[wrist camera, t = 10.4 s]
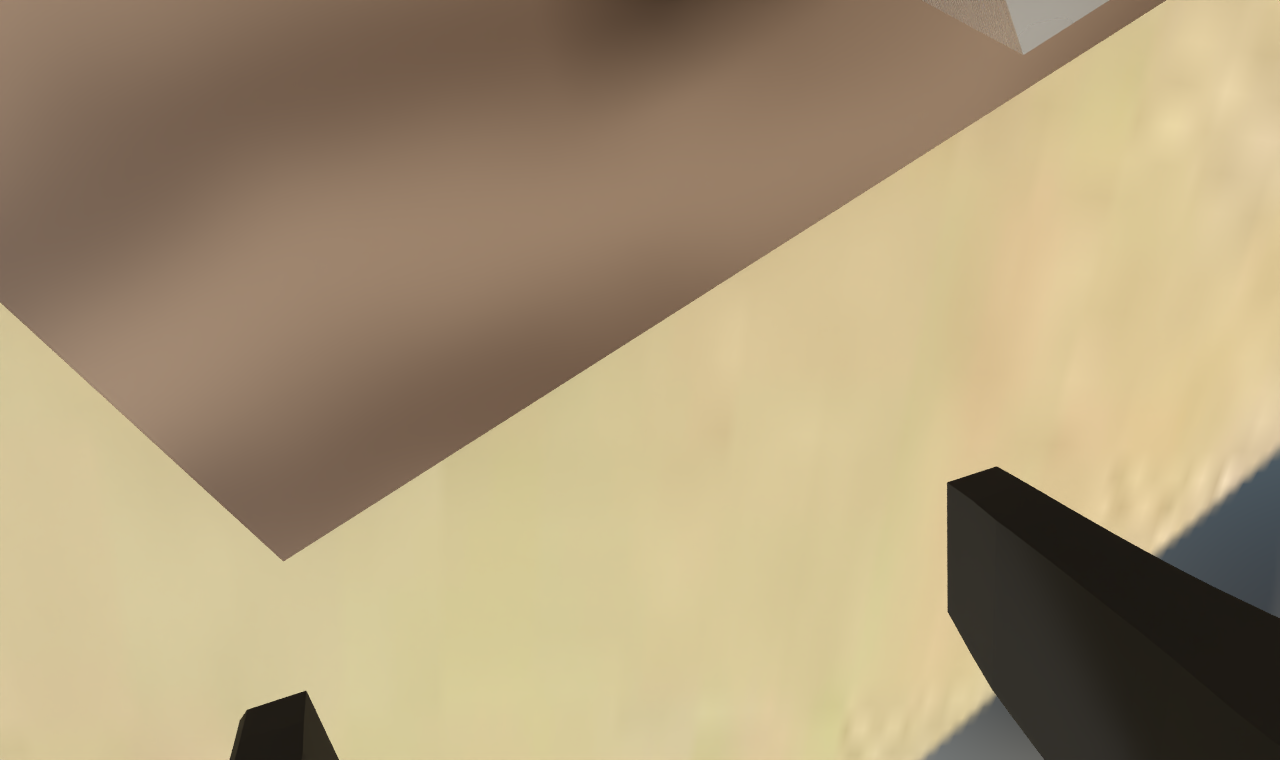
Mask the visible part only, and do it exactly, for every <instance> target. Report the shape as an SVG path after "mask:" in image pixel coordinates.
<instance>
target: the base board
mask: <svg viewBox="0 0 1280 760" xmlns="http://www.w3.org/2000/svg"><path fill="white" fill-rule="evenodd" d="M1164 1H1166V0H1109V1H1107V2H1106V3H1104V4H1103V5H1101V6H1099V7H1098V8H1096V9H1095V10H1093V11H1092V12H1090V13H1088V14H1087V15H1085V16H1084V17H1082V18H1081V19H1079V20H1078V21H1076V22H1074V23H1073V24H1071V25H1070V26H1068V27H1067V28H1065V29H1063V30H1062V31H1060V32H1059V33H1057V34H1056V35H1054V36H1052V37H1051V38H1049V39H1048V40H1046V41H1045V42H1043V43H1042V44H1040V45H1038V46H1037V47H1035V48H1034V49H1032V50H1031V51H1029V52H1027V53H1026V54H1024V55H1022V54H1021V53H1019V52H1017V51H1015V50H1013V49H1011V48H1009V47H1008V46H1006V45H1004V44H1002V43H1000V42H998V41H996V40H995V39H993V38H991V37H989V36H987V35H985V34H983V33H982V32H980V31H978V30H976V29H974V28H972V27H970V26H969V25H967V24H965V23H963V22H961V21H959V20H957V19H956V18H954V17H952V16H950V15H948V14H946V13H944V12H943V11H941V10H939V9H937V8H935V7H933V6H931V5H930V4H928V3H926V2H924V1H922V0H0V303H2V304H3V305H4V306H5V307H6V308H7V309H8V310H9V311H10V312H11V313H13V314H14V315H15V316H16V317H17V318H18V319H19V320H20V321H21V322H22V323H23V324H25V325H26V326H27V327H28V328H29V329H30V330H31V331H32V332H33V333H34V334H35V335H37V336H38V337H39V338H40V339H41V340H42V341H43V342H44V343H45V344H46V345H47V346H49V347H50V348H51V349H52V350H53V351H54V352H55V353H56V354H57V355H58V356H60V357H61V358H62V359H63V360H64V361H65V362H66V363H67V364H68V365H69V366H70V367H72V368H73V369H74V370H75V371H76V372H77V373H78V374H79V375H80V376H81V377H82V378H84V379H85V380H86V381H87V382H88V383H89V384H90V385H91V386H92V387H93V388H94V389H96V390H97V391H98V392H99V393H100V394H101V395H102V396H103V397H104V398H105V399H107V400H108V401H109V402H110V403H111V404H112V405H113V406H114V407H115V408H116V409H117V410H119V411H120V412H121V413H122V414H123V415H124V416H125V417H126V418H127V419H128V420H129V421H131V422H132V423H133V424H134V425H135V426H136V427H137V428H138V429H139V430H140V431H141V432H143V433H144V434H145V435H146V436H147V437H148V438H149V439H150V440H151V441H152V442H154V443H155V444H156V445H157V446H158V447H159V448H160V449H161V450H162V451H163V452H164V453H166V454H167V455H168V456H169V457H170V458H171V459H172V460H173V461H174V462H175V463H176V464H178V465H179V466H180V467H181V468H182V469H183V470H184V471H185V472H186V473H187V474H188V475H190V476H191V477H192V478H193V479H194V480H195V481H196V482H197V483H198V484H199V485H201V486H202V487H203V488H204V489H205V490H206V491H207V492H208V493H209V494H210V495H211V496H213V497H214V498H215V499H216V500H217V501H218V502H219V503H220V504H221V505H222V506H223V507H225V508H226V509H227V510H228V511H229V512H230V513H231V514H232V515H233V516H234V517H235V518H237V519H238V520H239V521H240V522H241V523H242V524H243V525H244V526H245V527H246V528H248V529H249V530H250V531H251V532H252V533H253V534H254V535H255V536H256V537H257V538H258V539H260V540H261V541H262V542H263V543H264V544H265V545H266V546H267V547H268V548H269V549H270V550H272V551H273V552H274V553H275V554H276V555H277V556H278V557H279V558H280V559H281V560H282V561H285V560H286V559H288V558H290V557H291V556H293V555H294V554H296V553H297V552H299V551H301V550H302V549H304V548H305V547H307V546H308V545H310V544H312V543H313V542H315V541H316V540H318V539H319V538H321V537H323V536H324V535H326V534H327V533H329V532H330V531H332V530H334V529H335V528H337V527H338V526H340V525H341V524H343V523H345V522H346V521H348V520H349V519H351V518H352V517H354V516H356V515H357V514H359V513H360V512H362V511H363V510H365V509H367V508H368V507H370V506H371V505H373V504H374V503H376V502H378V501H379V500H381V499H382V498H384V497H385V496H387V495H389V494H390V493H392V492H393V491H395V490H396V489H398V488H400V487H401V486H403V485H404V484H406V483H407V482H409V481H411V480H412V479H414V478H415V477H417V476H419V475H420V474H422V473H423V472H425V471H426V470H428V469H430V468H431V467H433V466H434V465H436V464H437V463H439V462H441V461H442V460H444V459H445V458H447V457H448V456H450V455H452V454H453V453H455V452H456V451H458V450H459V449H461V448H463V447H464V446H466V445H467V444H469V443H470V442H472V441H474V440H475V439H477V438H478V437H480V436H481V435H483V434H485V433H486V432H488V431H489V430H491V429H492V428H494V427H496V426H497V425H499V424H500V423H502V422H503V421H505V420H507V419H508V418H510V417H511V416H513V415H514V414H516V413H518V412H519V411H521V410H522V409H524V408H525V407H527V406H529V405H530V404H532V403H533V402H535V401H536V400H538V399H540V398H541V397H543V396H544V395H546V394H547V393H549V392H551V391H552V390H554V389H555V388H557V387H559V386H560V385H562V384H563V383H565V382H566V381H568V380H570V379H571V378H573V377H574V376H576V375H577V374H579V373H581V372H582V371H584V370H585V369H587V368H588V367H590V366H592V365H593V364H595V363H596V362H598V361H599V360H601V359H603V358H604V357H606V356H607V355H609V354H610V353H612V352H614V351H615V350H617V349H618V348H620V347H621V346H623V345H625V344H626V343H628V342H629V341H631V340H632V339H634V338H636V337H637V336H639V335H640V334H642V333H643V332H645V331H647V330H648V329H650V328H651V327H653V326H654V325H656V324H658V323H659V322H661V321H662V320H664V319H665V318H667V317H669V316H670V315H672V314H673V313H675V312H676V311H678V310H680V309H681V308H683V307H684V306H686V305H688V304H689V303H691V302H692V301H694V300H695V299H697V298H699V297H700V296H702V295H703V294H705V293H706V292H708V291H710V290H711V289H713V288H714V287H716V286H717V285H719V284H721V283H722V282H724V281H725V280H727V279H728V278H730V277H732V276H733V275H735V274H736V273H738V272H739V271H741V270H743V269H744V268H746V267H747V266H749V265H750V264H752V263H754V262H755V261H757V260H758V259H760V258H761V257H763V256H765V255H766V254H768V253H769V252H771V251H772V250H774V249H776V248H777V247H779V246H780V245H782V244H783V243H785V242H787V241H788V240H790V239H791V238H793V237H794V236H796V235H798V234H799V233H801V232H802V231H804V230H805V229H807V228H809V227H810V226H812V225H813V224H815V223H816V222H818V221H820V220H821V219H823V218H824V217H826V216H828V215H829V214H831V213H832V212H834V211H835V210H837V209H839V208H840V207H842V206H843V205H845V204H846V203H848V202H850V201H851V200H853V199H854V198H856V197H857V196H859V195H861V194H862V193H864V192H865V191H867V190H868V189H870V188H872V187H873V186H875V185H876V184H878V183H879V182H881V181H883V180H884V179H886V178H887V177H889V176H890V175H892V174H894V173H895V172H897V171H898V170H900V169H901V168H903V167H905V166H906V165H908V164H909V163H911V162H912V161H914V160H916V159H917V158H919V157H920V156H922V155H923V154H925V153H927V152H928V151H930V150H931V149H933V148H934V147H936V146H938V145H939V144H941V143H942V142H944V141H945V140H947V139H949V138H950V137H952V136H953V135H955V134H956V133H958V132H960V131H961V130H963V129H964V128H966V127H968V126H969V125H971V124H972V123H974V122H975V121H977V120H979V119H980V118H982V117H983V116H985V115H986V114H988V113H990V112H991V111H993V110H994V109H996V108H997V107H999V106H1001V105H1002V104H1004V103H1005V102H1007V101H1008V100H1010V99H1012V98H1013V97H1015V96H1016V95H1018V94H1019V93H1021V92H1023V91H1024V90H1026V89H1027V88H1029V87H1030V86H1032V85H1034V84H1035V83H1037V82H1038V81H1040V80H1041V79H1043V78H1045V77H1046V76H1048V75H1049V74H1051V73H1052V72H1054V71H1056V70H1057V69H1059V68H1060V67H1062V66H1063V65H1065V64H1067V63H1068V62H1070V61H1071V60H1073V59H1074V58H1076V57H1078V56H1079V55H1081V54H1082V53H1084V52H1085V51H1087V50H1089V49H1090V48H1092V47H1093V46H1095V45H1096V44H1098V43H1100V42H1101V41H1103V40H1104V39H1106V38H1108V37H1109V36H1111V35H1112V34H1114V33H1115V32H1117V31H1119V30H1120V29H1122V28H1123V27H1125V26H1126V25H1128V24H1130V23H1131V22H1133V21H1134V20H1136V19H1137V18H1139V17H1141V16H1142V15H1144V14H1145V13H1147V12H1148V11H1150V10H1152V9H1153V8H1155V7H1156V6H1158V5H1159V4H1161V3H1163V2H1164Z"/></svg>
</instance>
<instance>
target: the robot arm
mask: <svg viewBox="0 0 1280 760" xmlns="http://www.w3.org/2000/svg"><path fill="white" fill-rule="evenodd" d="M947 570H948V613H949V615H950V617H951V618H952V620H953V622H954V624H955V626H956V627H957V629H958V631H959V633H960V635H961V636H962V638H963V640H964V642H965V644H966V645H967V647H968V649H969V651H970V653H971V654H972V656H973V658H974V660H975V661H976V663H977V665H978V666H979V668H980V670H981V671H982V673H983V675H984V676H985V678H986V680H987V682H988V683H989V685H990V687H991V688H992V690H993V691H994V693H995V694H996V695H997V697H998V698H999V699H1000V701H1001V702H1002V703H1003V705H1004V706H1005V708H1006V709H1007V710H1008V712H1009V713H1010V714H1011V715H1012V717H1013V718H1014V720H1015V721H1016V722H1017V724H1018V725H1019V726H1020V728H1021V729H1022V730H1023V732H1024V733H1025V734H1026V736H1027V737H1028V738H1029V740H1030V741H1031V743H1032V744H1033V745H1034V746H1035V748H1036V749H1037V751H1038V752H1039V753H1040V754H1041V756H1042V757H1043V758H1044V760H1280V618H1278V617H1276V616H1273V615H1271V614H1269V613H1267V612H1265V611H1263V610H1261V609H1259V608H1257V607H1254V606H1252V605H1250V604H1248V603H1246V602H1244V601H1242V600H1240V599H1238V598H1236V597H1233V596H1231V595H1229V594H1227V593H1225V592H1223V591H1221V590H1219V589H1217V588H1215V587H1213V586H1211V585H1209V584H1207V583H1205V582H1203V581H1201V580H1199V579H1197V578H1195V577H1193V576H1191V575H1189V574H1187V573H1185V572H1183V571H1181V570H1179V569H1178V568H1176V567H1174V566H1172V565H1170V564H1168V563H1166V562H1164V561H1163V560H1161V559H1159V558H1157V557H1155V556H1153V555H1152V554H1150V553H1148V552H1146V551H1144V550H1142V549H1140V548H1139V547H1137V546H1135V545H1133V544H1131V543H1130V542H1128V541H1126V540H1124V539H1122V538H1121V537H1119V536H1117V535H1115V534H1113V533H1112V532H1110V531H1108V530H1106V529H1105V528H1103V527H1101V526H1099V525H1098V524H1096V523H1094V522H1092V521H1091V520H1089V519H1087V518H1085V517H1084V516H1082V515H1080V514H1078V513H1077V512H1075V511H1073V510H1071V509H1070V508H1068V507H1066V506H1065V505H1063V504H1061V503H1059V502H1058V501H1056V500H1054V499H1053V498H1051V497H1049V496H1047V495H1046V494H1044V493H1042V492H1041V491H1039V490H1037V489H1035V488H1034V487H1032V486H1030V485H1029V484H1027V483H1025V482H1023V481H1022V480H1020V479H1018V478H1016V477H1015V476H1013V475H1011V474H1009V473H1008V472H1006V471H1004V470H1002V469H1001V468H999V467H993V468H990V469H987V470H984V471H981V472H978V473H975V474H972V475H969V476H966V477H963V478H960V479H957V480H953V481H950V482H947ZM230 760H339V759H338V757H337V755H336V753H335V750H334V748H333V746H332V744H331V742H330V740H329V738H328V736H327V734H326V731H325V729H324V727H323V725H322V723H321V721H320V719H319V717H318V714H317V712H316V710H315V708H314V706H313V704H312V702H311V700H310V697H309V695H308V693H307V691H304V692H301V693H298V694H294V695H291V696H288V697H285V698H282V699H279V700H276V701H273V702H270V703H267V704H264V705H261V706H258V707H254V708H251V709H248V710H247V711H246V712H245V714H244V715H243V717H242V718H241V720H240V722H239V726H238V730H237V734H236V738H235V742H234V746H233V749H232V753H231V757H230Z"/></svg>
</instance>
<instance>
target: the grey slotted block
mask: <svg viewBox="0 0 1280 760" xmlns="http://www.w3.org/2000/svg"><path fill="white" fill-rule="evenodd" d="M922 1H924V2H926V3H928V4H930V5H931V6H933V7H935V8H937V9H939V10H941V11H943V12H944V13H946V14H948V15H950V16H952V17H954V18H956V19H957V20H959V21H961V22H963V23H965V24H967V25H969V26H970V27H972V28H974V29H976V30H978V31H980V32H982V33H983V34H985V35H987V36H989V37H991V38H993V39H995V40H996V41H998V42H1000V43H1002V44H1004V45H1006V46H1008V47H1009V48H1011V49H1013V50H1015V51H1017V52H1019V53H1021V54H1022V55H1024V54H1026V53H1027V52H1029V51H1031V50H1032V49H1034V48H1035V47H1037V46H1038V45H1040V44H1042V43H1043V42H1045V41H1046V40H1048V39H1049V38H1051V37H1052V36H1054V35H1056V34H1057V33H1059V32H1060V31H1062V30H1063V29H1065V28H1067V27H1068V26H1070V25H1071V24H1073V23H1074V22H1076V21H1078V20H1079V19H1081V18H1082V17H1084V16H1085V15H1087V14H1088V13H1090V12H1092V11H1093V10H1095V9H1096V8H1098V7H1099V6H1101V5H1103V4H1104V3H1106V2H1107V1H1109V0H922Z"/></svg>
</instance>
